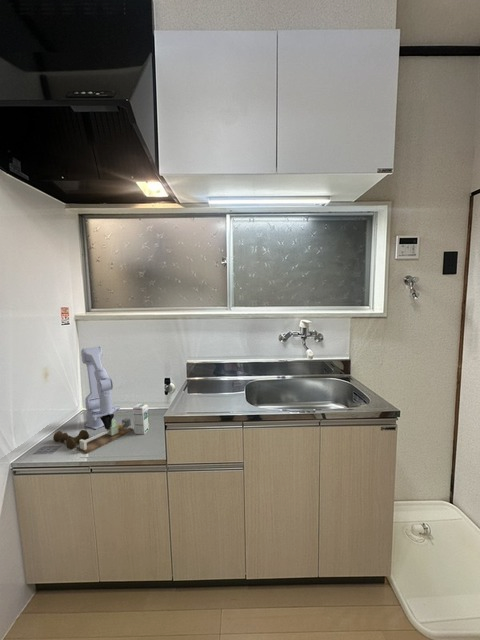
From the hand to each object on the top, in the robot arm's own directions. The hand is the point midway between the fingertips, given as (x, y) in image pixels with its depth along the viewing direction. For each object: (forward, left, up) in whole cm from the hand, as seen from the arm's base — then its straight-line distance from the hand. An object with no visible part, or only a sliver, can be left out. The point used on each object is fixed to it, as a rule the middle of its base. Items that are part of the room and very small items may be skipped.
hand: (107, 428), depth 160 cm
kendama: (-11, -12, -6) cm, 18 cm away
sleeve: (0, +3, -4) cm, 5 cm away
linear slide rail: (0, 0, -4) cm, 4 cm away
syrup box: (+9, +14, -6) cm, 18 cm away
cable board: (0, -1, -5) cm, 5 cm away
